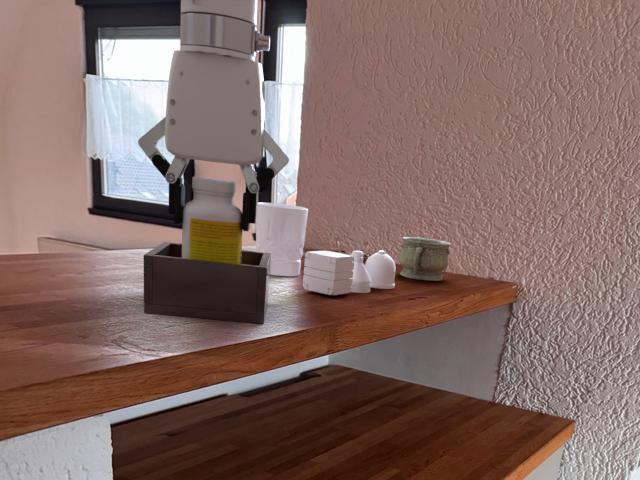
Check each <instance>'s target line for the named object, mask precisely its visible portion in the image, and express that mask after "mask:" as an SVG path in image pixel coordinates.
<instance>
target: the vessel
mask: <svg viewBox="0 0 640 480" xmlns="http://www.w3.org/2000/svg"><path fill="white" fill-rule="evenodd" d="M401 239H402V241H403V242H402V244H401V251H400V254H399V257H398V261H399V264H400V265H401V266H402V267H403V268H402V270H400V275H401V276H402V277H404V278H409V279H413V280H420V281H432V282H439V281H443V276H442V272H444V271H446V270H447V268H448V267H449V254H450V247H451V246H452V243H451V242H448V241H444V240H438V239H432V238H425V237H416V236H402V237H401Z"/></svg>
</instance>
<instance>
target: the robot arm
mask: <svg viewBox="0 0 640 480" xmlns="http://www.w3.org/2000/svg"><path fill="white" fill-rule="evenodd" d="M258 3H259V1H258V0H180V23H179V24H180V26H179V27H180V32H179V33H180V34H179V39H180V40H179V50H177V49H176V50H173V54H172V58H171V63H170V69H169V75H168V85H167V95H166V96H167V97H166V109H165V116H164V117H163V118H162V119H161V120H160V121H159V122H157V123H156V124H155V125H154V126H153V127H152V128H150V129H149V130H148V131H147V132H145V133H144V134H143V135H142V136H141V137H139V139H138V140H137V144H138V146H139V148H140V149H141V150H142V151H143V153H144V154H145V155H146V157H147V158H148V159H149V160H150V161H151V163H152V165H153V166H154V167H155V168H156V169H157V171H158V172H159V173H160V174H161V176H162V177H163V178H164V179H165V181H166V183H168V214H169V215H172V216H173V223H174V224H177V225H180V224H182V211H183V207H184V206H185V204H186V185H185V184H184V183H183V175H184V173H185V171H186V169H187V167H188V165H189V163H190V160H196V161H202V162H211V163H218V164H227V165H237V166H239V168H240V171H241V173H242V174H241V175H243V178H244V181H245V184H246V186H245V192H243V193H242V210H241V212H242V230H243V232H249V231H250V228H251V225H252V224H253V225H256V209H257V203H258V192H259V191H261V190H262V189H263V188H264V187H266V185H268V183H270V182H271V181H272V180H273V179H274V178H275V177H276V176H277V175H278V174H279V173H280V172H281V171H282V170H283V169H284V168H285V167H287V165H288V164H289V162H290V158H289V156H288V155H287V154H286V153H285V151H283V149H282V148H281V147H280V146H279V144H278V143H277V142H276V141H275V140H274V138H272V136H271V135H270V134H269V133H268V132H267V130H266V129H265V126H266V125H265V119H266V118H265V116H266V113H265V111H266V109H265V103H266V101H265V99H266V98H265V97H266V96H265V81H264V80H265V79H264V71H263V65H262V63H260V62H259V61H256V54H259V52H263V51H265V52H270V46H271V36H270V35H264V34H263V33H261V32H260V30H258V29H257V22H258V19H257V18H258ZM163 138H164V143H165V148H166V150H167V151H168V153H170V154H171V155H173V156H174V157H173V158H172V161H171V163H170V162H169V160H168V159H167V158H166V157H165V156H164V155H163V154H162V153H161V151H160V149H158V146H157V144H158V143H159V141H161V140H162V139H163ZM264 149H265V150H266V151H267V152H268V153H269V154H270V155H271V158H272V161H271V163H270V164H269V165H267V167H266V168H264V170H262V171H261V172H260V173H259V174H258V175H257V172H256V170H255V167H254V165H256V164H258V163H260V162H261V161H262V159H263V156H264Z"/></svg>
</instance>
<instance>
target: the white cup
mask: <svg viewBox="0 0 640 480" xmlns="http://www.w3.org/2000/svg"><path fill="white" fill-rule="evenodd" d="M308 217H309V208H308V207H304V206H299V205H293V204H285V203H276V202H264V201H263V202H257V209H256V223H255V226H256V227H255V243H256V244H255V249H256V251H255V252H265V253H271V264H270V276H275V277H298V276H299V275H301V269H302V268H301V267H302V258H303V255H304V247H305V242H306V233H307V225H308Z"/></svg>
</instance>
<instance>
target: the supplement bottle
mask: <svg viewBox="0 0 640 480" xmlns="http://www.w3.org/2000/svg"><path fill="white" fill-rule="evenodd" d="M191 181H192V182H191V188H192V192H193V198H192V200H189V201H188V202H185V206H184V207H183V211H182V223H181V244H182V258H188V259H198V260H207V261H217V262H227V263H236V264H241V255H242V250H243V232H244V231H243V230H242V210H241V208H239V207H238V206H236V205H235V204H234V197H235V194H236V193H237V190H236V189H237V182H236V181H232V180H229V179H220V178H212V177H203V176H192V179H191Z"/></svg>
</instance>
